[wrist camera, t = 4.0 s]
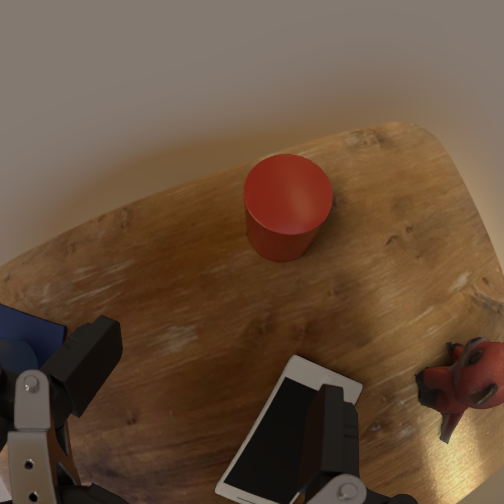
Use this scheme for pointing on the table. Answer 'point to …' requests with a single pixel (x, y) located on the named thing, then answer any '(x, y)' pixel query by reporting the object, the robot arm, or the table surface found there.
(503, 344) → the stuffed fox
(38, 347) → the blue mat
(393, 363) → the table surface
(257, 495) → the smartphone
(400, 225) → the table surface
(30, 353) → the grey-blue cylinder
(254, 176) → the red cylinder
